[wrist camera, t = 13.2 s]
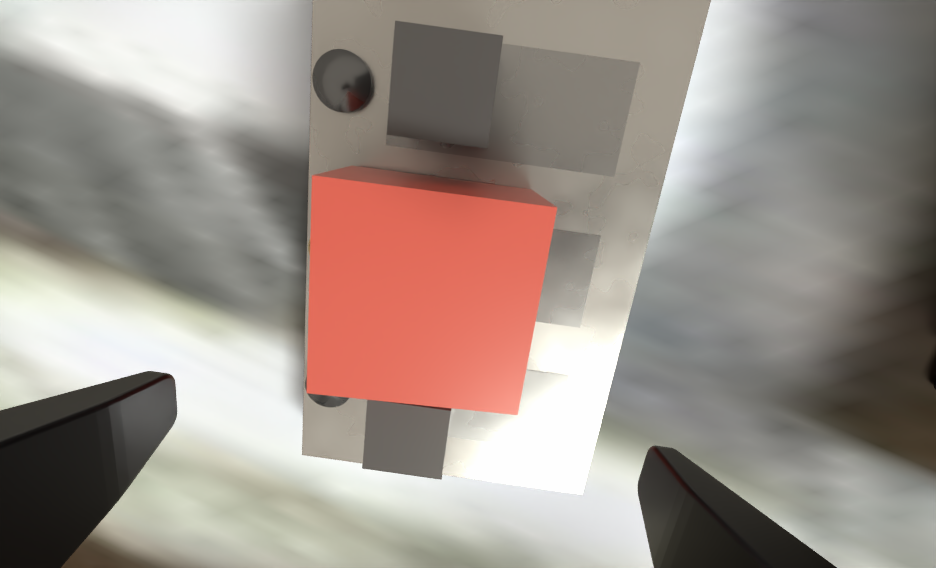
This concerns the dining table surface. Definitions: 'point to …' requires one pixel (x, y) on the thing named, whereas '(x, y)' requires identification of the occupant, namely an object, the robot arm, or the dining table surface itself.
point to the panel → (531, 167)
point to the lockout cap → (423, 288)
